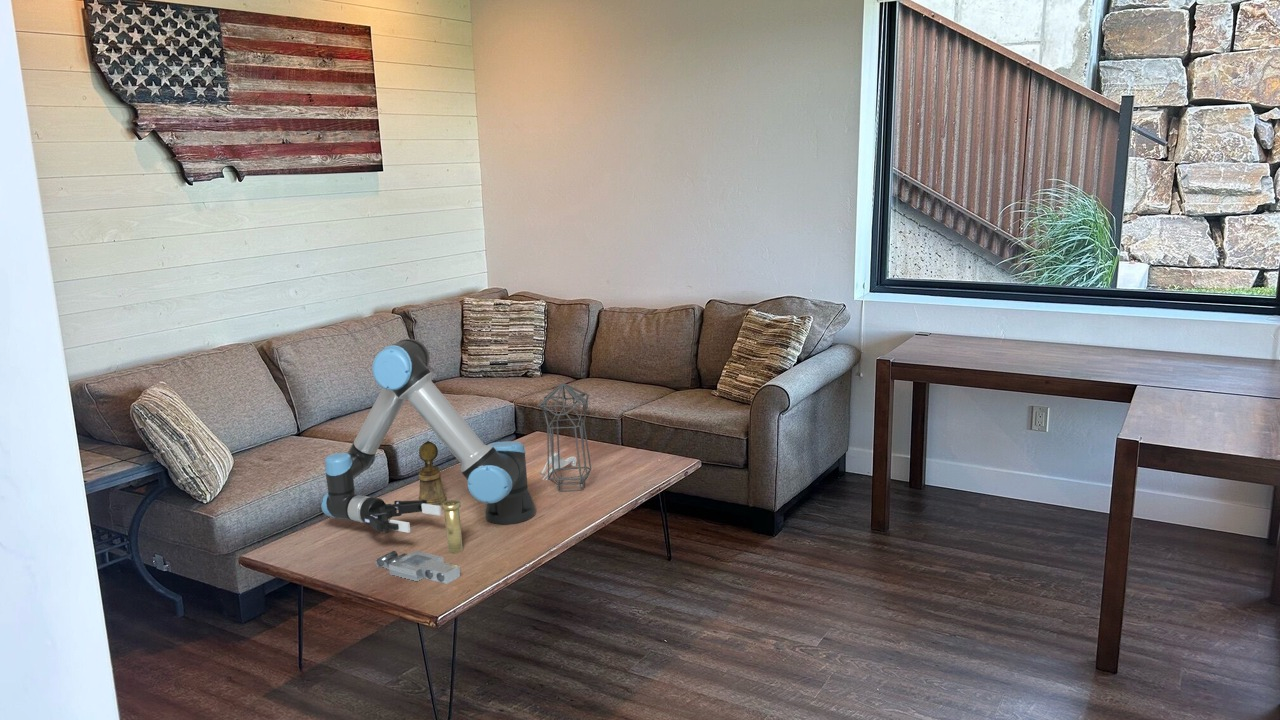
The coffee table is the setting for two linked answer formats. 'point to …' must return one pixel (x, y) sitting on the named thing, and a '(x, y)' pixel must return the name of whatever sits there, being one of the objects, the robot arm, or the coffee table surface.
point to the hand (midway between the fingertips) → (425, 519)
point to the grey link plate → (427, 568)
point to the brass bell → (430, 476)
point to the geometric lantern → (575, 397)
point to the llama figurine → (562, 463)
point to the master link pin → (453, 525)
